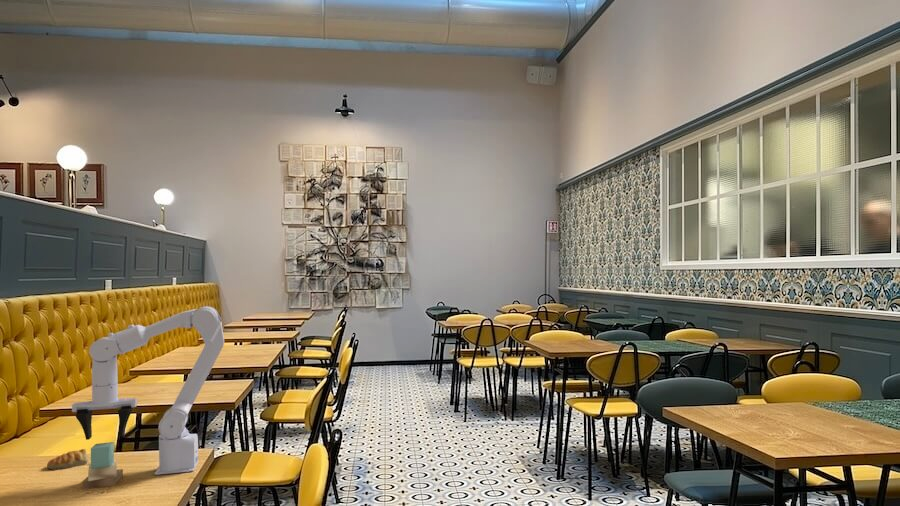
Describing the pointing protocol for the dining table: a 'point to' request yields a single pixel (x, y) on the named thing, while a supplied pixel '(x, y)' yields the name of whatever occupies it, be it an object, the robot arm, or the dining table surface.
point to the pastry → (69, 460)
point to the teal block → (102, 455)
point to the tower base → (102, 481)
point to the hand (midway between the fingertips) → (105, 437)
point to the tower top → (102, 472)
